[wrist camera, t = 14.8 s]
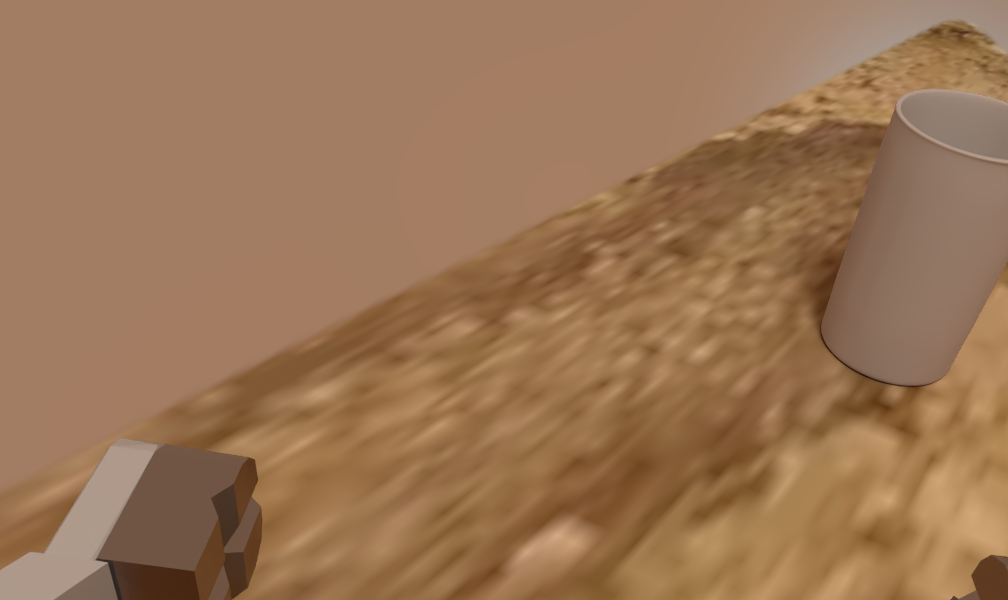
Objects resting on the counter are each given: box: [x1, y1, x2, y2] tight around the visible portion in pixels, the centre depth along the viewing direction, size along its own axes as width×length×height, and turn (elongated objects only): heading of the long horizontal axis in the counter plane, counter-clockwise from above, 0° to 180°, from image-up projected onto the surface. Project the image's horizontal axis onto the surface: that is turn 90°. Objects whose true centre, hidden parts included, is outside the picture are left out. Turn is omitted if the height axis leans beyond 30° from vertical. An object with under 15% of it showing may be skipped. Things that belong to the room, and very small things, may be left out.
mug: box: [821, 89, 1008, 386], centre depth 44 cm, size 10×7×12 cm, turn 171°
